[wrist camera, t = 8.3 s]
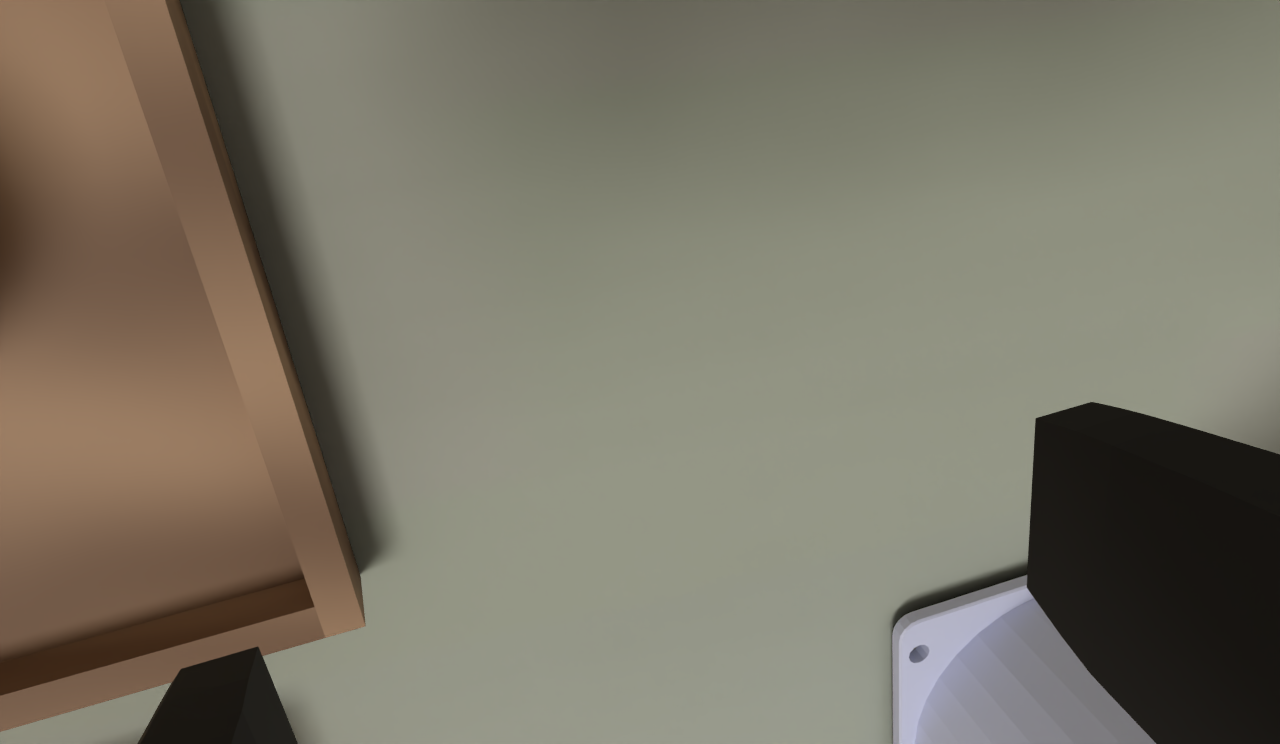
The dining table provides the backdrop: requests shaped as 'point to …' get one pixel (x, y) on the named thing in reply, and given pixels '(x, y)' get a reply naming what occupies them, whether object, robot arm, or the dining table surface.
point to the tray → (141, 379)
